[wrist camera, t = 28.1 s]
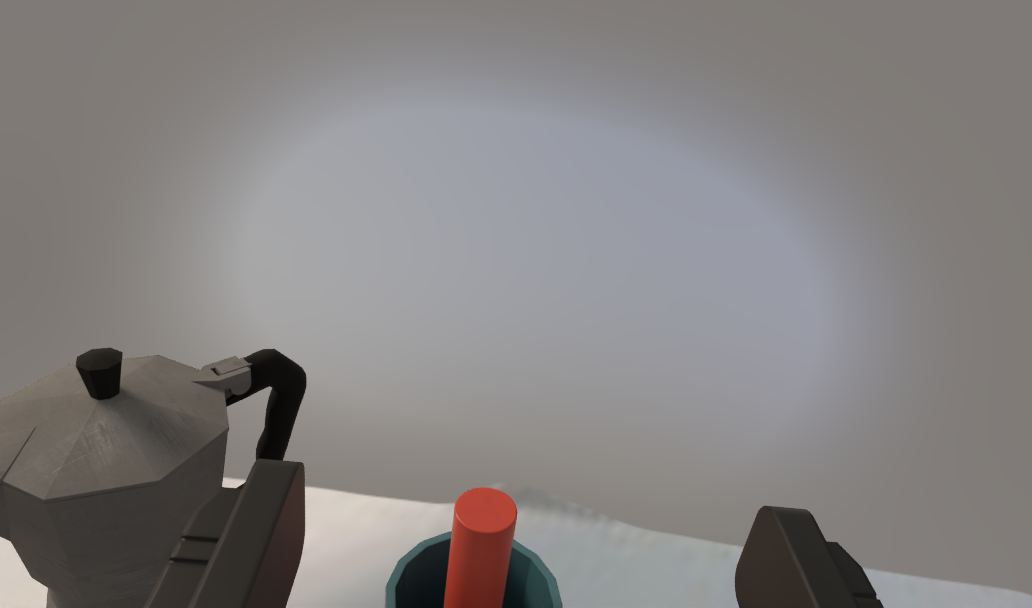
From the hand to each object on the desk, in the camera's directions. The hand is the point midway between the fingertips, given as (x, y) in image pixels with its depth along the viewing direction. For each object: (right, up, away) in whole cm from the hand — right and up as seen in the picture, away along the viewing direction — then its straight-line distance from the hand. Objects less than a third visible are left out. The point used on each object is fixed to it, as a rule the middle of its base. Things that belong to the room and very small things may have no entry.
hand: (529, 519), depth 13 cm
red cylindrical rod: (-3, -16, +21) cm, 27 cm away
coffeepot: (-18, -14, +24) cm, 33 cm away
